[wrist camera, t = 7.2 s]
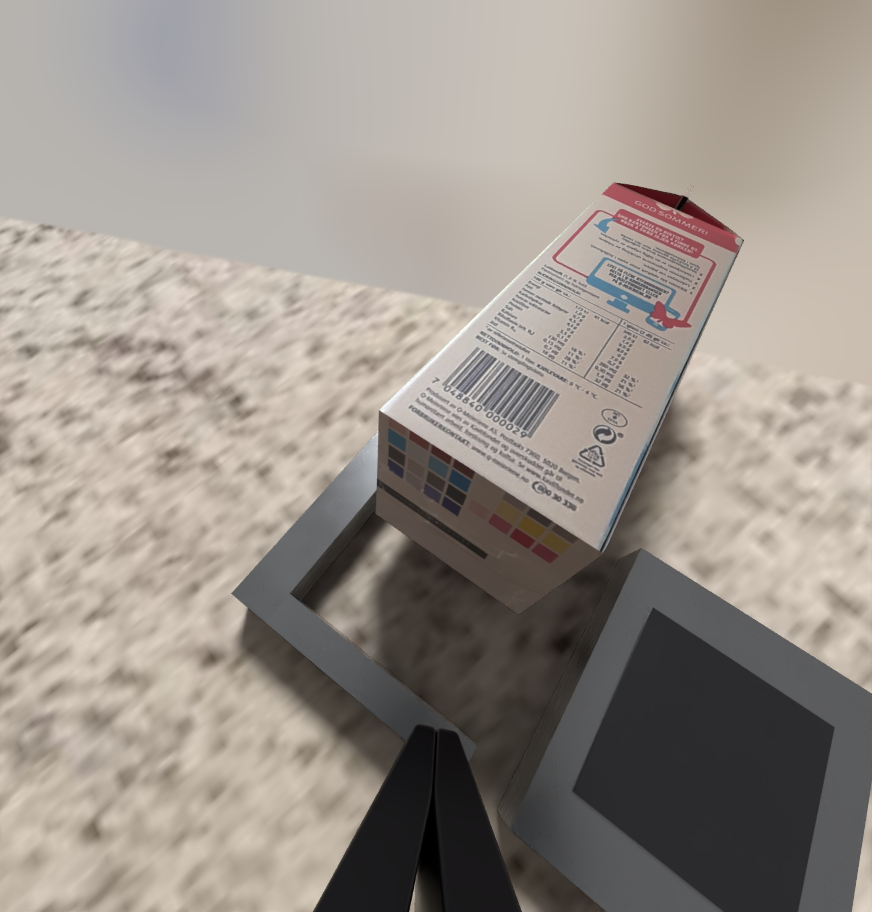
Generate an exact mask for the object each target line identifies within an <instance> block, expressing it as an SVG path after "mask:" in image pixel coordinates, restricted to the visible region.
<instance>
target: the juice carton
mask: <svg viewBox="0 0 872 912" xmlns="http://www.w3.org/2000/svg"><path fill="white" fill-rule="evenodd" d="M693 187H694V186H692V185H690V187H689V188H688V190H687V191H686V193H685V194H684V196H679V195H676V194H672V193H667V192H662V191H658V190H653V189H648V188H644V187H639V186H634V185H628V184H621V183H613V184H612V185H611V186H610V187H609V188H608V189H607V190H606V191H605V192H604V193H603V194H602V195H601V196H599V198H597V199H596V201H594V202H593V203H592V204H591V205H590V206H589V207H588V208H587V209H586V210H585V211H584V212H583V213H582V214H581V215H580V216H579V217H578V218H577V219H576V220H575V221H574V222H573V223H572V224H571V225H570V226H569V227H568V228H567V229H566V230H565V231H564V232H562V233H561V234H560V236H558V237H557V238H556V239H555V240H554V241H553V242H552V243H551V244H550V245H549V246H548V247H547V248H546V249H545V250H544V251H543V252H542V253H541V254H540V255H539V256H537V257H536V258H535V260H533V261H532V262H531V263H530V264H529V265H528V266H527V267H526V268H525V269H524V270H523V271H522V272H521V273H520V274H519V275H518V276H517V277H516V278H515V279H514V280H513V281H512V282H511V283H510V284H509V285H508V286H507V287H505V288H504V290H503V291H502V292H500V293H499V294H498V295H497V296H496V297H495V298H494V299H493V300H492V301H491V302H490V303H489V304H488V305H487V306H486V307H485V308H484V309H483V310H482V311H481V312H480V313H479V314H478V315H477V316H476V317H475V318H473V319H472V320H471V321H470V322H469V323H468V324H467V325H466V326H465V327H464V328H463V329H462V330H461V331H460V332H459V333H458V334H457V335H456V336H455V337H454V338H453V339H452V340H451V341H450V342H449V343H448V344H447V345H446V346H445V347H444V348H443V349H441V350H440V351H439V352H438V353H437V354H436V355H435V356H434V357H433V358H432V359H431V360H430V361H429V362H428V363H427V364H426V365H425V366H424V367H423V368H422V369H421V370H420V371H419V372H418V373H417V374H416V375H415V376H414V377H413V378H412V379H411V380H410V381H408V382H407V383H406V384H405V385H404V386H403V387H402V388H401V389H400V390H399V391H398V392H397V393H396V394H395V395H394V396H393V397H392V398H391V399H390V400H389V401H388V402H387V403H386V404H385V405H384V406H383V407H382V408H381V409H380V410H379V427H378V459H377V492H376V514H377V515H378V516H379V517H381V518H382V519H384V520H385V521H386V522H388V523H389V524H391V525H392V526H394V527H395V528H396V529H398V530H399V531H401V532H402V533H403V534H405V535H406V536H408V537H409V538H411V539H412V540H413V541H415V542H416V543H418V544H419V545H420V546H422V547H423V548H425V549H426V550H428V551H429V552H430V553H432V554H433V555H435V556H436V557H437V558H439V559H440V560H442V561H443V562H445V563H446V564H447V565H449V566H450V567H452V568H453V569H454V570H456V571H457V572H459V573H460V574H462V575H463V576H464V577H466V578H467V579H469V580H470V581H471V582H473V583H474V584H476V585H477V586H479V587H480V588H481V589H483V590H484V591H486V592H487V593H488V594H490V595H491V596H493V597H494V598H496V599H497V600H498V601H500V602H501V603H503V604H504V605H505V606H507V607H508V608H510V609H511V610H513V611H514V612H515V613H517V614H518V615H519V614H520V613H522V612H523V611H525V610H526V609H527V608H529V607H530V606H532V605H533V604H534V603H536V602H537V601H539V600H540V599H541V598H543V597H544V596H546V595H547V594H548V593H550V592H551V591H553V590H554V589H555V588H557V587H558V586H560V585H561V584H562V583H564V582H565V581H567V580H568V579H569V578H571V577H572V576H574V575H575V574H576V573H578V572H579V571H581V570H582V569H583V568H585V567H586V566H588V565H589V564H590V563H592V562H593V561H595V560H596V559H597V558H599V557H600V556H602V555H603V552H604V550H605V549H606V547H607V545H608V543H609V541H610V538H611V536H612V534H613V532H614V530H615V527H616V525H617V523H618V521H619V518H620V516H621V514H622V512H623V509H624V507H625V505H626V503H627V501H628V498H629V496H630V494H631V492H632V489H633V487H634V485H635V483H636V480H637V478H638V476H639V474H640V472H641V469H642V467H643V465H644V463H645V460H646V458H647V456H648V454H649V451H650V449H651V447H652V445H653V442H654V440H655V438H656V436H657V434H658V431H659V429H660V427H661V425H662V422H663V420H664V418H665V416H666V413H667V411H668V409H669V407H670V405H671V402H672V400H673V398H674V396H675V393H676V391H677V389H678V387H679V384H680V382H681V380H682V378H683V376H684V373H685V371H686V369H687V367H688V364H689V362H690V360H691V358H692V355H693V353H694V351H695V348H696V346H697V344H698V342H699V340H700V337H701V335H702V333H703V331H704V329H705V326H706V324H707V322H708V319H709V317H710V315H711V313H712V311H713V308H714V306H715V304H716V302H717V299H718V297H719V295H720V293H721V290H722V288H723V286H724V284H725V282H726V279H727V277H728V275H729V272H730V270H731V268H732V266H733V264H734V261H735V259H736V257H737V255H738V252H739V250H740V248H741V246H742V244H743V241H744V240H743V239H741V238H740V237H739V236H738V235H737V234H736V233H734V232H733V231H732V230H731V229H729V228H728V227H727V226H725V225H724V224H722V223H721V222H720V221H718V220H717V219H715V218H714V217H713V216H711V215H710V214H708V213H707V212H705V211H704V210H703V209H701V208H700V207H698V206H697V205H696V204H694V203H693V202H691V201H690V200H689V199H688V198H689V196H690V194H691V191H692V189H693Z"/></svg>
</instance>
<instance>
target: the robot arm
mask: <svg viewBox="0 0 872 912" xmlns="http://www.w3.org/2000/svg"><path fill="white" fill-rule="evenodd" d="M415 881H416V883H415ZM414 885H415V912H522V911H521V908H520V905H519V902H518V900H517V897H516V894H515V891H514V888H513V886H512V883H511V880H510V877H509V874H508V872H507V869H506V866H505V863H504V860H503V858H502V855H501V852H500V849H499V846H498V844H497V841H496V838H495V835H494V832H493V830H492V827H491V824H490V821H489V818H488V816H487V813H486V810H485V807H484V804H483V802H482V799H481V796H480V793H479V790H478V788H477V785H476V782H475V779H474V776H473V774H472V771H471V768H470V765H469V762H468V760H467V757H466V754H465V751H464V748H463V746H462V743H461V740H460V737H459V735H458V733H457V732H456V731H452V730H448V729H443V728H439V729H437V730H436V729H435V728H434V727H433V726H428V725H423V724H416V725H415V726H414V728H413V730H412V731H411V733H410V735H409V737H408V739H407V740H406V742H405V744H404V746H403V748H402V750H401V751H400V753H399V755H398V757H397V759H396V761H395V762H394V764H393V766H392V768H391V770H390V772H389V773H388V775H387V777H386V779H385V781H384V783H383V784H382V786H381V788H380V790H379V792H378V794H377V795H376V797H375V799H374V801H373V803H372V805H371V806H370V808H369V810H368V812H367V814H366V816H365V817H364V819H363V821H362V823H361V825H360V827H359V828H358V830H357V832H356V834H355V836H354V837H353V839H352V841H351V843H350V845H349V847H348V848H347V850H346V852H345V854H344V856H343V858H342V859H341V861H340V863H339V865H338V867H337V869H336V870H335V872H334V874H333V876H332V878H331V880H330V881H329V883H328V885H327V887H326V889H325V891H324V892H323V894H322V896H321V898H320V900H319V902H318V903H317V905H316V907H315V909H314V911H313V912H409V910H410V905H411V900H412V895H413V890H414Z"/></svg>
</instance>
